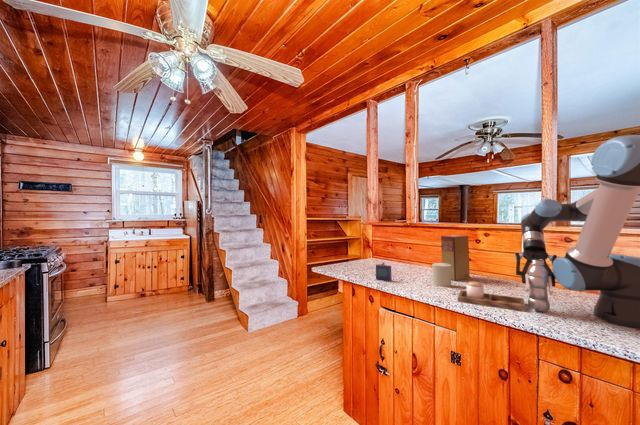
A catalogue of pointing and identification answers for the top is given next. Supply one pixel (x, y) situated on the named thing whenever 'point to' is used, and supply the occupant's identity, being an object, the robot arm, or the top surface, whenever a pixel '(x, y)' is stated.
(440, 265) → the can
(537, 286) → the plastic bottle
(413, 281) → the top surface
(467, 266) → the food packaging
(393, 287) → the top surface
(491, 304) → the caddy
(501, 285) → the top surface
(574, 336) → the top surface
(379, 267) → the flask
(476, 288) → the jar
